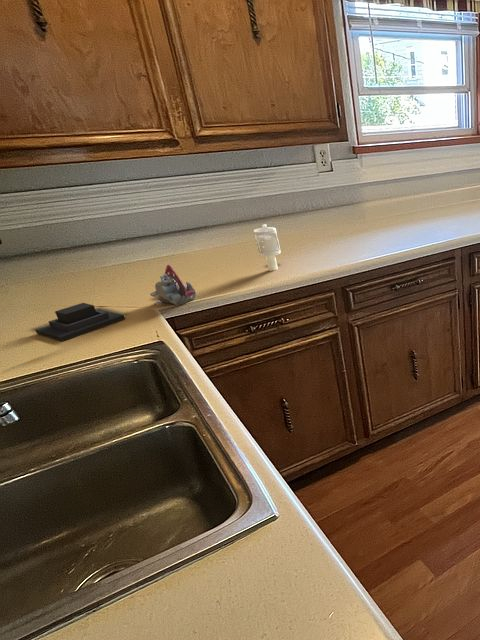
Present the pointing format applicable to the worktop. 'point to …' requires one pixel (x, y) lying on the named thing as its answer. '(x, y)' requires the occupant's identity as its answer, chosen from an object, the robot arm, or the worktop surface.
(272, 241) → the white tall piece
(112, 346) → the worktop surface
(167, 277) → the grey creature figurine
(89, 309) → the top pad
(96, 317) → the base pad
